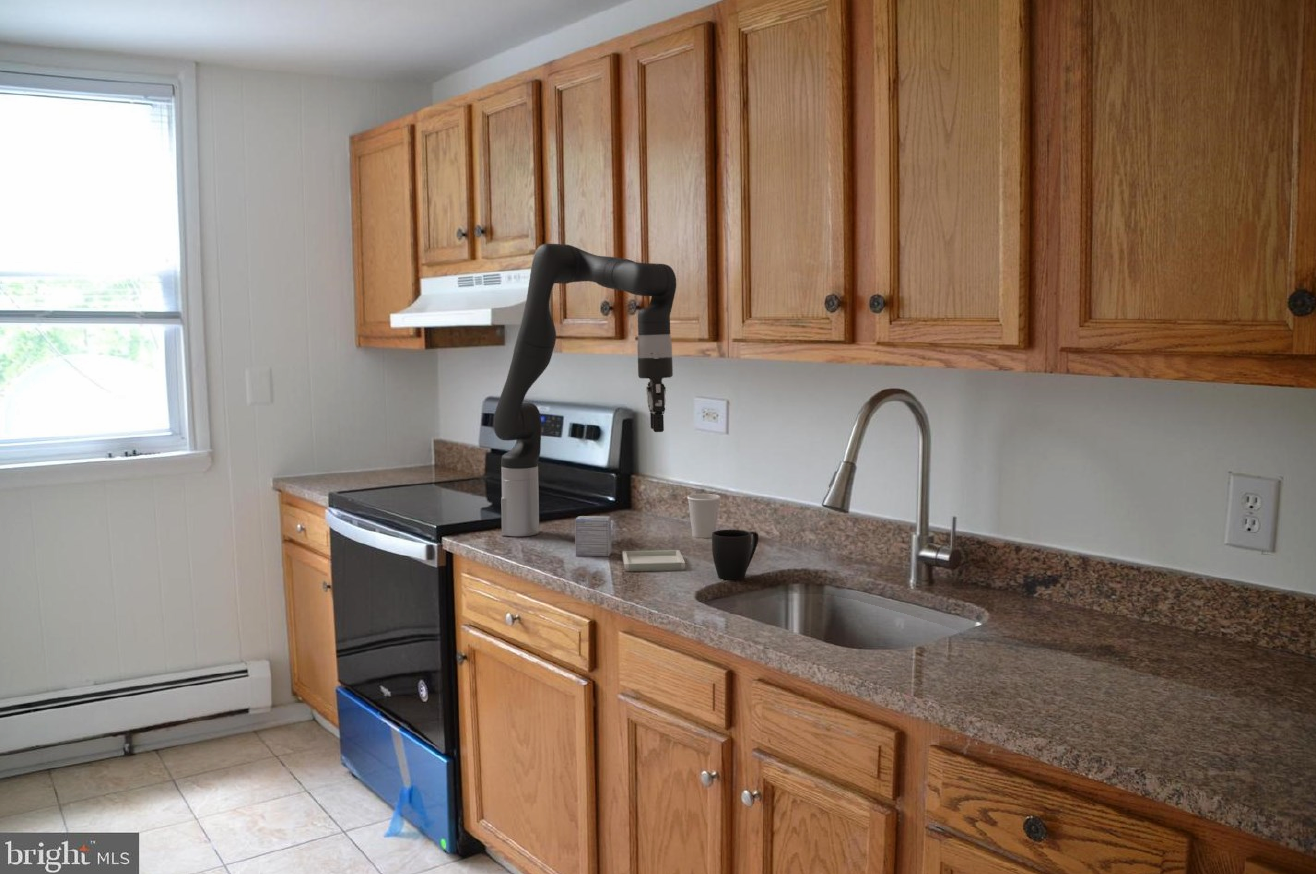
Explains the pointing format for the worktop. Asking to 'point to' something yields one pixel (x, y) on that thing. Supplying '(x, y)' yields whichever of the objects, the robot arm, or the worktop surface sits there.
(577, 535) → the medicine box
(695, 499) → the dixie cup
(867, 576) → the worktop surface
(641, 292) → the robot arm
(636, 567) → the tray
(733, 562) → the mug
